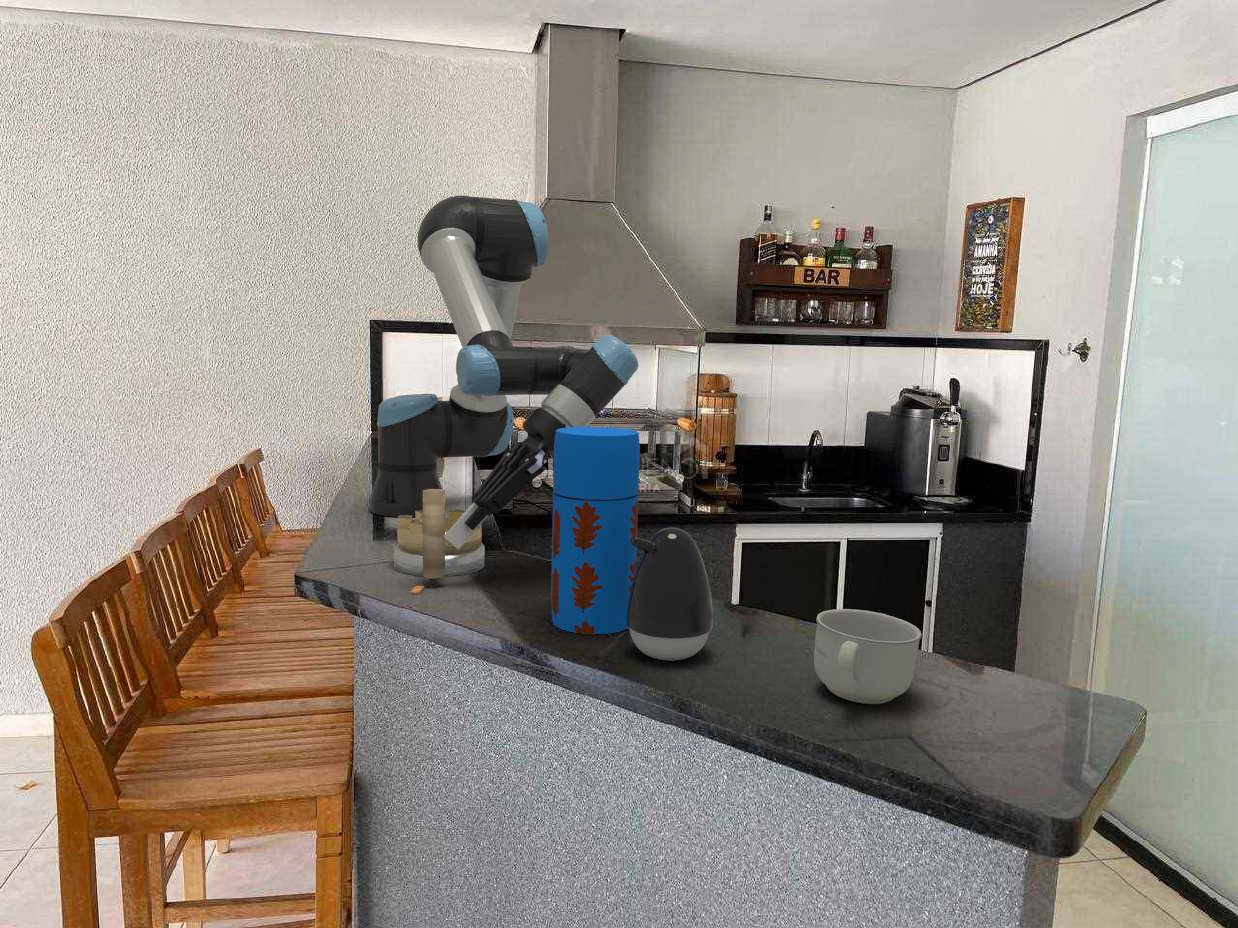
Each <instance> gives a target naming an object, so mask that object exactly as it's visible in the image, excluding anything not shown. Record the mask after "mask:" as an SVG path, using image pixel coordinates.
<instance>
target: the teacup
mask: <svg viewBox="0 0 1238 928" xmlns="http://www.w3.org/2000/svg"><path fill="white" fill-rule="evenodd" d="M921 638H922V632H921V630H920V629H919V628H918V627H917V626H916V625H914V624H912V623H910V622H909V621H906V620H903V619H901V618H898V617H895V616H891V615H888V614H886V613H882V612H875V611H870V610H864V609H852V608H851V609H850V608H838V609H837V608H836V609H828V610H824V611H822V612H820V613H818V614H817V616H816V629H815V638H814V639H815V640H814V650H813V665H814V670H815V673H816V675H817V677H818V679H819V680H820V681H821V682H822V683H823V684H824V685H825V686H826V688H827V689H828V690H829V691H830V692H831V694H833V695H835V696H837V697H839V698H841V699H844V700H847V701H850V702H854V703H858V704H859V703H860V704H866V705H881V704H885V703H888V702H891V701H892V700H894V699H895V698H897V697H899V696H901V695H903V694H904V693H905V692H906V691H907V690H908V689H909V688H910V686H911V684H912V681H913V679H914V675H915V670H916V664H917V658H918V652H919V645H920V640H921Z"/></svg>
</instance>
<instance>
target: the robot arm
mask: <svg viewBox="0 0 1238 928" xmlns="http://www.w3.org/2000/svg"><path fill="white" fill-rule="evenodd" d="M548 230H549V229H548V226H547V221H546V218H545V215H544V213H543V211H542V209H540V207H539V206H538V205H537V204H535V203H533V202H528V201H523V200H522V201H521V200H518V199H517V198H515V199H508V198H507V199H505V198H494V197H493V198H492V197H480V196H470V195H454V196H453V195H452V196H450V197H447V198H444V199H441V200H439V201H438V202H437V203H436V204H435V205H433V206H432V207H431V208H430V209H429V210H428V211H427V213H426V214H425V215H424V217H423V219H422V221H421V222H420V224H419V228H418V232H417V251H418V253H419V256H420V259H421V261H422V263H423V265H424V267H425V268H426V269H427V270H428V271H429V272H431V273H433V274H432V275H433V276H434V279H435V281H436V284H437V286H438V288H439V292H440V294H441V297H442V299H443V302H444V304H445V306H446V309H447V311H448V314H449V317H450V319H451V321H452V325H453V327H454V329H455V332H456V334H457V337H458V340H459V342H460V345H461V349H460V350H459V351H458V353H457V356H456V363H455V374H456V377H457V379H456V381H457V384H455V385H454V386H453V387H452V388H451V389H450V391H449V392H450V394H449V397H448V398H449V399H448V400H439V398H438V395H436V393H419V394H418V393H416V394H415V393H414V394H406V395H399V396H393V397H389V398H387V399H384V400H382V402H381V403H380V404H379V405H378V410H377V422H376V426H377V453H378V454H377V455H378V456H377V461H378V462H377V465H378V467H377V469H378V470H377V475H376V479H375V481H374V485H373V488H372V491H371V494H370V498H369V503H368V505H369V508H368V509H369V512H370V513H372V514H375V515H379V516H384V517H396V518H398V516H399V515H412V518H414V517H415V511H417V510H423V490H427V489H441V490H443V487H442V484H441V480H440V477H439V475H438V459H439V458H440V459H441V458H444V459H445V458H446V459H447V458H465V457H467V458H469V457H478V458H485V457H489V456H490V457H491V456H497V455H499V454H501V453H503V452H504V453H503V455H502V457H501V458H500V460H499V461H498V462H497V464H496V465H495V467H494V468H493V469H492V470H491V472H490V473H489V474H488V475H487V477H486V478H485V480H484V481H483V482H482V483H481V484H480V486H479V487H478V489H477V490H476V491H475V492H474V494H473V495H472V498H473V501H472V504H470V506H469V507H468V508H467V509H466V510H465V511H466V512H465V513H464V514H463V515H462V516H461V517H460V518H459V519H458V521H457V522H456V523H455V524H454V525H453V526H452V527H451V528H450V530H449V531H448V532H447V533H446V534H445V535H444V536H443V537H444V538H446V539H447V540H448V541H449V542H450V543H451V544H452V545H454V546H455V547H456V548H457V549H458V550H459V548H460V547H461V546H462V545H463V544H464V543H465V542H466V540H467V539H468V538H469V537H470V536H471V535H472V534H473V533H474V531H475V530H476V529H477V528H478V527H479V526H480V525H481V526H482V524H483V523H484V521H486V519H487V518H488V517H490V516H492V515H493V514H495V515H496V514H499V513H500V512H501V511H502V510H503V509H504V508H505V507H506V506H507V505H508V504H509V503H510V502H511V501H513V499H514V498H515V497H517V496H518V495H519V494H520V492H522V491H523V490H524V489H525V487H527V486H528V485H529V484H530V483H532V481H533V480H534V479H536V478H537V477H538V476H539V475H541V474H542V473H544V472H545V470H546V469H547V467H546V466H545V465H544V464H545V461H546V460H547V458H548V456H549V455H551V456H553V457H554V441H555V434H556V430H557V429H561V428H569V427H592V426H591V423H592V422H593V421H594V420H595V419H596V418H597V417H598V416H599V414H601V412H602V411H603V410H604V409H605V408H606V407H607V405H608V404H610V403H611V401H612V400H613V399H614V398H615V396H617V394H618V393H619V392H620V391H621V390H622V389H623V388H624V387H625V386H627V384H628V383H629V380H630V379H631V378H632V377H633V376H634V374H635V373H636V371H637V370H638V369H639V361H638V358H637V356H636V354H635V353H634V352H633V351H632V349H631V348H630V347H629V346H628V345H627V344H626V343H625V342H623V341H622V340H620V339H619V338H618V337H616V336H614V335H611V334H604V335H602V336H601V337H600V338H599V339H598V340H596V341H595V342H594V343H592V346H591V347H590V348H579V347H574V346H570V345H568V346H564V345H558V346H553V347H552V346H519V345H518V346H517V345H516V346H514V345H513V343H512V336H513V332H514V331H513V330H514V326H515V325H514V324H515V320H516V316H517V315H516V314H517V309H518V304H519V299H520V293H521V288H522V285H524V284H526V283H527V282H529V281H530V280H531V277H532V273H533V269H534V268H538V267H541V266H543V265H544V264H545V261H546V260H547V257H548V253H549V231H548ZM533 267H534V268H533ZM525 395H528V396H537V395H538V396H545V395H546V397H545V398H544V399H543V400H542V401H541V402H540V404H541V406H540V407H539V408H536V409H535V410H534V411H533V412H532V413H531V414H530V415H529V416H528V418H527V419H526V420H525V421H524V422H523V423H522V427H523V428H522V429H524V432H526V434H527V437H526V438H525V439H524V440H522V441H521V442H518V443H516V445H515V446H514V447H513V448H512V449H510V448H508V446H509V444H510V442H511V439H512V436H513V431H514V423H513V421H514V417H515V416H514V412H513V408H512V405H511V404H510V403H509V402H508V398H507V396H525ZM446 504H447V499H446V498H445V511H446V510H447V509H446V508H447V505H446Z"/></svg>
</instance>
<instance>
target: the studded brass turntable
mask: <svg viewBox="0 0 1238 928" xmlns="http://www.w3.org/2000/svg"><path fill="white" fill-rule="evenodd" d="M445 499H446V490H445V489H442V490H441V489H427V490H423V510H417V511H415V519H413V517H412V515H399V516H398V517H396V518H397V524H396V525H397V533H396V534H397V541H396V543H397V544H396V545H397V546H398V548H399V549H401V550H403V551H407V552H411V553H418V554H423V576H422V577H423V578H426V579H442V578H444V576H445V554H457V553H464V552H469V551H473V550H476V549H478V548H480V547H481V543H482V530H483V529H482V524H481V525H480V526H479V527H478V528H477V529H476V530H475V531H474V533H473V534H472V535H471V536H470V537H469V538H468V539H467V540H466V542H465V543H464V544H463V545H462V546H461V547H460V548H459V550H458V549H457V548H456V547H455V546H454V545H452V544H451V543H450V542H449V541H448V540H447V539H446V538H444V537H443V536H444V535H445V534H446V533H447V532H448V531H449V530H450V528H451V527H452V526H453V525H454V524H455V523H456V522H457V521H458V519H459V518H460V517H461V516H462V515H463V514H464V513H465V512H466V511H467V510H464V509H463V510H462V509H453V510H450V511H449V512H448V517H446V510H445Z"/></svg>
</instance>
